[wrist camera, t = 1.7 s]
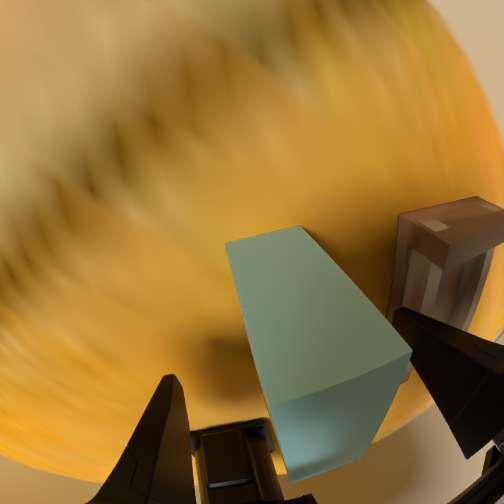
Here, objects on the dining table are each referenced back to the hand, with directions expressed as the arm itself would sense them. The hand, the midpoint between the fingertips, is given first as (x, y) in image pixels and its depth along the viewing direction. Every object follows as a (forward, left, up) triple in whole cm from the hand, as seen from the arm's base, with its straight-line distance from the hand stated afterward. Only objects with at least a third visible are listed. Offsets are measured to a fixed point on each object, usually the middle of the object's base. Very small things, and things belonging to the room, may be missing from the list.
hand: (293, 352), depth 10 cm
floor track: (-2, -10, -3) cm, 11 cm away
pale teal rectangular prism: (0, 0, -3) cm, 3 cm away
